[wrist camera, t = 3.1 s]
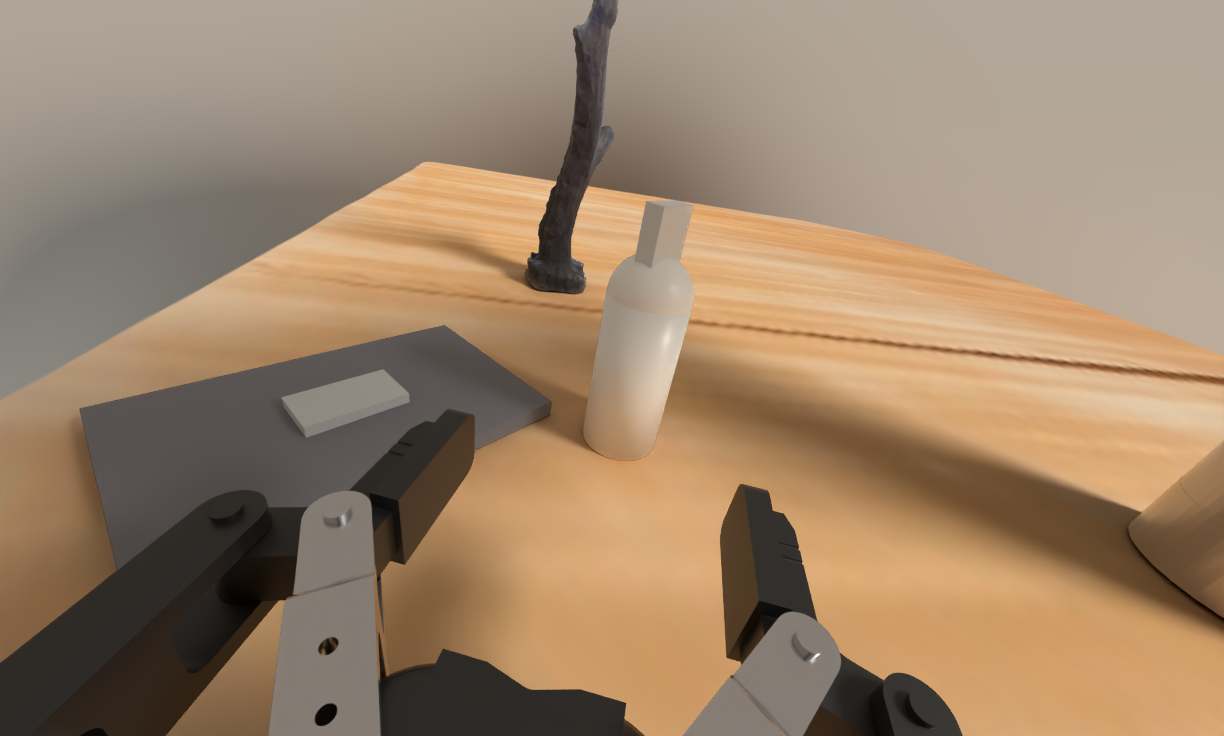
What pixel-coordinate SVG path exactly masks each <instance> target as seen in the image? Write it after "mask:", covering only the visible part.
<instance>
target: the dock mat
mask: <svg viewBox="0 0 1224 736" xmlns="http://www.w3.org/2000/svg"><path fill="white" fill-rule="evenodd" d="M551 402H552V401H550V400H549V399H547V398H546V397H545V396H543V395H542V394H540V393H539V392H538V391H536V390H535V389H533V388H532V387H531V386H529V385H528V384H526V383H525V382H524V381H522V380H521V379H519V378H518V377H517V376H515V375H514V374H512V373H511V372H510V371H508V370H507V369H505V368H504V367H502V366H501V365H500V364H498V363H497V362H495V361H494V360H493V359H491V358H490V357H488V356H487V355H486V354H484V353H483V352H481V351H480V350H479V349H477V348H476V347H474V346H473V345H472V344H470V343H469V342H467V341H466V340H465V339H463V338H462V337H460V336H459V335H458V334H456V333H455V332H453V331H452V330H451V329H449V328H448V327H446V326H445V325H443V326H439V327H434V328H430V329H426V330H421V331H417V332H412V333H408V334H404V335H399V336H395V337H391V338H386V339H382V340H377V341H373V342H369V343H364V344H360V345H356V346H351V347H347V348H342V349H338V350H334V351H329V352H325V353H321V354H316V355H312V356H307V357H303V358H299V359H294V360H290V361H286V362H281V363H277V364H273V365H268V366H264V367H259V368H255V369H251V370H246V371H242V372H238V373H233V374H229V375H224V376H220V377H216V378H211V379H207V380H203V381H198V382H194V383H189V384H185V385H181V386H176V387H172V388H168V389H163V390H159V391H154V392H150V393H146V394H141V395H137V396H133V397H128V398H124V399H120V400H115V401H111V402H106V403H102V404H98V405H93V406H89V407H85V408H80V413H81V418H82V422H83V426H84V431H85V435H86V439H87V443H88V448H89V452H90V456H91V461H92V465H93V469H94V473H95V478H96V482H97V486H98V491H99V495H100V499H101V504H102V508H103V512H104V516H105V521H106V525H107V529H108V534H109V538H110V542H111V546H112V551H113V555H114V559H115V564H116V568H117V570H119V569H120V568H121V567H122V566H124V565H125V564H126V563H127V562H129V561H130V560H131V559H132V558H134V557H135V556H136V555H137V554H139V553H140V552H141V551H143V550H144V549H145V548H146V547H148V546H149V545H150V544H151V543H153V542H154V541H155V540H156V539H158V538H159V537H160V536H161V535H163V534H164V533H165V532H166V531H168V530H169V529H170V528H172V527H173V526H174V525H175V524H177V523H178V522H179V521H180V520H182V519H183V518H184V517H185V516H187V515H188V514H189V513H190V512H192V511H193V510H194V509H196V508H197V507H198V506H199V505H201V504H202V503H204V502H206V501H207V500H209V499H211V498H213V497H215V496H218V495H221V494H224V493H227V492H231V491H237V490H252V491H256V492H259V493H261V494H262V495H264V496H265V498H266V500H267V503H268V506H269V507H309V506H310V505H311V504H312V503H314V502H315V501H317V500H318V499H320V498H322V497H324V496H326V495H328V494H331V493H335V492H340V491H348V490H349V489H351V488H352V487H353V486H354V485H355V484H356V483H357V482H358V481H359V480H360V479H361V478H362V477H363V476H364V475H365V474H366V473H367V472H368V470H369V469H370V468H371V467H372V466H373V465H374V464H375V463H376V462H377V461H378V460H379V459H380V458H381V457H382V456H383V455H384V454H385V453H388V450H389V449H390V448H391V447H392V446H393V445H394V444H395V443H398V440H399V439H400V438H401V437H402V436H403V435H404V434H405V433H406V432H407V431H408V430H409V429H411V428H413V427H415V426H417V425H419V424H421V423H423V422H425V421H430V422H435V421H436V420H437V419H438V418H439V417H440V416H441V415H442V414H443V413H444V412H445V411H446V410H447V409H453V410H457V411H461V412H465V413H469V414H473V415H474V417H475V449H474V451H475V450H477V449H479V448H481V447H483V446H485V445H487V444H489V443H491V442H493V441H496V440H498V439H500V438H502V437H504V436H506V435H508V434H510V433H512V432H514V431H517V430H519V429H521V428H523V427H525V426H527V425H529V424H531V423H533V422H535V421H538V420H540V419H542V418H544V417H546V416H548V415H550V410H551Z"/></svg>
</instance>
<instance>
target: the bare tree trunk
mask: <svg viewBox="0 0 1224 736" xmlns="http://www.w3.org/2000/svg"><path fill="white" fill-rule="evenodd" d="M617 6H618V0H594V1H593V5H592V9H591V12H590V14H589V17H588V19H587V20H586V22H585V23H584V24H583V25H577V26H575V27H574V29H573V36H574V38H575V42H576V47H575V52H576V57H577V82H576V100H575V111H574V119H573V124H572V131H571V137H570V143H569V146H568V149H567V152H566V155H565V158H564V163H563V166H562V168H561V171H560V174H559V176H558V178H557V183H556V185H555V186H554V187H553V188H552V190H551V193H550V197H549V201H548V202H547V204H546V212H545V214H544V215H543V219H542V220H541V222H540V224H539V230H538V236H539V239H540V242H539V252H538V253H537V254H536V253H534V252H532V253H531V258H528V260H527V261H528V262H527V263H528V269H526V272H525V274H526V275H525V276H526V279H527V280H529V283H530V284H531V285H532V286H533V287H534V288H535V289H539V290H545V291H547V290H553V291H558V292H568V293H570V294H578V293H582V292H583V291H584V288H585V283H586V282H585V281H586V277H584V272H583V265H584V264H583V263H581V262H580V261H576V260H575V259H573V258H571V236H572V233H573V228H574V225H575V220H576V216H577V212H578V209H579V206H580V203H581V200H582V198H583V196H584V193H585V191H586V189H587V186H588V184H589V181H590V178H591V176H592V174H593V172H594V170H595V169H596V166H597V165H598V164H599V163H600V162H601V161H602V158H603V156H604V155H605V154H606V152H607V151H608V149H609V148H610V146H611V144H612V142H613V140H614V136H615V135H614V132H613V131H612V129H611V128H610V127H609V126H603V127H601V125H602V119H603V111H604V98H605V81H606V65H607V54H608V45H609V38H610V31H611V28H612V26H613V25H614V23H615V21H616V17H617V12H618V11H617V10H618V9H617Z"/></svg>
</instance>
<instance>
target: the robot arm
mask: <svg viewBox="0 0 1224 736" xmlns="http://www.w3.org/2000/svg"><path fill="white" fill-rule="evenodd" d="M474 449H475V417H474V415H473V414H469V413H465V412H461V411H457V410H453V409H447V410H446V411H445V412H444V413H443V414H442V415H441V416H440V417H439V418H438V419H437V420H436V421H435V422H430V421H425V422H423V423H421V424H419V425H417V426H415V427H413V428H411V429H409V430H408V431H407V432H406V433H405V434H404V435H403V436H402V437H401V438H400V439H399V440H398V443H395V444H394V445H393V446H392V447H391V448H390V449H389V450H388V453H385V454H384V455H383V456H382V457H381V458H380V459H379V460H378V461H377V462H376V463H375V464H374V465H373V466H372V467H371V468H370V469H369V470H368V472H367V473H366V474H365V475H364V476H363V477H362V478H361V479H360V480H359V481H358V482H357V483H356V484H355V485H354V486H353V487H352V488H351V489H349V490H348V491H340V492H335V493H331V494H328V495H326V496H324V497H322V498H320V499H318V500H317V501H315V502H314V503H312V504H311V505H310V506H309V507H269V506H268V503H267V500H266V498H265V496H264V495H262V494H261V493H259V492H256V491H252V490H237V491H231V492H227V493H224V494H221V495H218V496H215V497H213V498H211V499H209V500H207V501H206V502H204V503H202V504H201V505H199V506H198V507H197V508H196V509H194V510H193V511H192V512H190V513H189V514H188V515H187V516H185V517H184V518H183V519H182V520H180V521H179V522H178V523H177V524H175V525H174V526H173V527H172V528H170V529H169V530H168V531H166V532H165V533H164V534H163V535H161V536H160V537H159V538H158V539H156V540H155V541H154V542H153V543H151V544H150V545H149V546H148V547H146V548H145V549H144V550H143V551H141V552H140V553H139V554H137V555H136V556H135V557H134V558H132V559H131V560H130V561H129V562H127V563H126V564H125V565H124V566H122V567H121V568H120V569H119V570H117V571H116V572H115V573H114V574H112V575H111V576H110V577H108V578H107V579H106V580H105V581H103V582H102V583H101V584H100V585H98V586H97V587H96V588H95V589H93V590H92V591H91V592H90V593H88V594H87V595H86V596H84V597H83V598H82V599H81V600H79V601H78V602H77V603H76V604H74V605H73V606H72V607H71V608H69V609H68V610H67V611H66V612H64V613H63V614H62V615H61V616H59V617H58V618H57V619H55V620H54V621H53V622H52V623H50V624H49V625H48V626H47V627H45V628H44V629H43V630H42V631H40V632H39V633H38V634H37V635H35V636H34V637H33V638H32V639H30V640H29V641H28V642H26V643H25V644H24V645H23V646H21V647H20V648H19V649H18V650H16V651H15V652H14V653H13V654H11V655H10V656H9V657H8V658H6V659H5V660H4V661H2V662H1V663H0V736H166V734H167V733H168V732H169V731H170V730H171V728H172V727H173V726H174V725H175V724H176V722H177V721H178V720H179V719H180V718H181V717H182V715H183V714H184V713H185V712H186V711H187V709H188V708H189V707H190V706H191V705H192V703H193V702H194V701H195V700H196V699H197V697H198V696H199V695H200V694H201V693H202V691H203V690H204V689H205V688H206V687H207V685H208V684H209V683H210V682H211V681H212V679H213V678H214V677H215V676H216V675H217V673H218V672H219V671H220V670H221V669H222V667H223V666H224V665H225V664H226V663H227V661H228V660H229V659H230V658H231V657H232V655H233V654H234V653H235V652H236V651H237V649H238V648H239V647H240V646H241V645H242V643H243V642H244V641H245V640H246V639H247V638H248V636H249V635H250V634H251V633H252V632H253V630H254V629H255V628H256V627H257V626H258V624H259V623H260V622H261V621H262V620H263V618H264V617H265V616H266V615H267V614H268V612H269V611H270V610H271V609H272V608H273V606H274V605H275V604H276V603H277V602H278V600H286V601H285V605H284V610H283V618H282V626H281V634H280V643H279V651H278V659H277V667H276V676H275V684H274V692H273V700H272V708H271V717H270V725H269V733H268V736H644V735H643V734H642V733H641V732H640V731H639V730H638V729H637V728H636V727H634V726H633V725H632V724H631V723H629V722H628V721H626V720H625V719H624V716H625V709H626V703H624V702H621V701H617V700H614V699H611V698H607V697H604V696H601V695H597V694H594V693H590V692H587V691H584V690H580V689H576V690H530V689H527V688H525V687H523V686H522V685H521V684H519V683H518V682H516V681H515V680H513V679H512V678H510V677H509V676H507V675H506V674H504V673H503V672H501V671H500V670H498V669H497V668H495V667H494V666H492V665H491V664H489V663H488V662H486V661H482V660H479V659H476V658H472V657H469V656H466V655H462V654H459V653H455V652H452V651H449V650H445V649H443V650H442V652H441V654H440V656H439V658H438V660H437V662H436V663H434V664H423V665H417V666H413V667H409V668H406V669H403V670H400V671H398V672H395V673H393V674H391V675H389V668H388V658H387V648H386V635H385V620H384V604H383V588H382V575H381V573H382V572H383V570H384V569H385V567H386V566H387V565H388V563H389V562H390V561H393V562H397V563H400V564H404V565H405V564H406V562H407V561H408V560H409V558H410V557H411V555H412V554H413V552H414V551H415V549H416V548H417V546H418V545H419V544H420V542H421V541H422V539H423V538H424V536H425V535H426V533H427V532H428V531H429V529H430V528H431V526H432V525H433V523H434V522H435V520H436V519H437V517H438V516H439V515H440V513H441V512H442V510H443V509H444V507H445V506H446V504H447V503H448V502H449V500H450V499H451V497H452V496H453V494H454V493H455V491H456V490H457V488H458V487H459V486H460V484H461V483H462V481H463V480H464V478H465V477H466V475H467V474H468V472H469V470H470V468H471V466H472V463H473V459H474ZM1128 531H1129V534H1130V537H1131V539H1132V541H1133V542H1134V544H1135V545H1136V546H1137V548H1138V549H1139V551H1140V552H1141V553H1142V554H1143V555H1144V556H1145V557H1146V558H1147V559H1148V560H1149V561H1150V562H1151V563H1152V564H1153V565H1154V566H1155V567H1156V568H1157V569H1158V570H1159V571H1161V572H1162V573H1163V574H1164V575H1165V576H1166V577H1167V578H1169V579H1170V580H1171V581H1172V582H1174V583H1175V584H1176V585H1177V586H1179V587H1180V588H1181V589H1183V590H1184V591H1185V592H1187V593H1188V594H1189V595H1190V596H1192V597H1193V598H1195V599H1196V600H1198V601H1199V602H1201V603H1202V604H1203V605H1205V606H1206V607H1208V608H1209V609H1211V610H1212V611H1214V612H1215V613H1217V614H1218V615H1220V616H1221V617H1223V618H1224V441H1222V442H1221V443H1220V444H1219V445H1218V446H1217V447H1216V448H1215V449H1213V450H1212V451H1211V452H1210V453H1209V454H1208V455H1207V456H1206V457H1204V458H1203V459H1202V460H1201V461H1200V462H1199V463H1198V464H1197V465H1195V466H1194V467H1193V468H1192V469H1191V470H1190V471H1189V472H1188V473H1186V474H1185V475H1184V476H1183V477H1181V478H1180V479H1179V480H1178V481H1177V482H1176V483H1175V484H1173V485H1172V486H1171V487H1170V488H1169V489H1168V490H1167V491H1166V492H1164V493H1163V494H1162V495H1161V496H1160V497H1159V498H1158V499H1157V500H1155V501H1154V502H1153V503H1152V504H1151V505H1150V506H1149V507H1148V508H1146V509H1145V510H1144V511H1143V512H1142V513H1141V514H1140V515H1139V516H1137V517H1136V518H1135V519H1134V520H1133V521H1132V522H1131V523H1130V524H1129V528H1128ZM720 548H721V566H722V584H723V602H724V621H725V639H726V657H727V658H729V659H733V660H736V661H740V662H741V666H740V668H739V669H738V670H737V671H736V673H735V674H734V675H733V676H732V675H731V676H730V677H729V678H728V680H727V681H726V682H725V683H724V684H723V686H722V687H721V688H720V689H719V691H718V692H717V693H716V694H715V696H714V697H713V698H712V699H711V701H710V702H709V703H708V705H707V706H706V707H705V708H704V710H703V711H702V712H701V713H700V715H699V716H698V717H697V718H696V720H695V721H694V722H693V723H692V725H691V726H690V727H689V729H688V730H687V731H686V732H685V734H684V735H683V736H962V733H961V730H960V728H959V725H958V723H957V721H956V719H955V717H954V715H953V714H952V712H951V710H950V709H949V707H948V706H947V705H946V703H945V702H944V701H943V700H942V699H941V697H940V696H939V695H938V694H937V693H936V692H935V691H934V690H932V689H931V688H930V687H929V686H928V685H926V684H925V683H923V682H922V681H921V680H919V679H917V678H915V677H913V676H910V675H908V674H904V673H893V674H891V675H889V676H888V677H887V678H886V679H885V680H882V679H881V678H879V677H877V676H876V675H874V674H872V673H870V672H869V671H867V670H865V669H864V668H862V667H860V666H859V665H857V664H855V663H854V662H852V661H850V660H849V659H847V658H846V657H845V656H843V655H842V654H841V653H840V652H839V649H838V647H837V645H836V643H835V641H834V639H833V638H832V636H831V635H830V633H829V632H828V631H827V630H826V629H825V628H824V627H823V626H822V625H821V624H820V623H819V622H818V621H817V618H816V614H815V610H814V606H813V602H812V598H811V594H810V590H809V586H808V582H807V578H806V574H805V570H804V566H803V565H802V558H801V554H800V551H799V550H798V549H799V546H798V542H797V538H796V534H795V530H794V528H793V527H792V525H791V524H790V522H789V521H788V519H787V518H786V516H785V515H784V514H783V513H779V512H775V511H773V509H772V504H771V499H770V495H769V492H768V491H767V490H764V489H760V488H756V487H752V486H748V485H744V484H740V485H739V487H738V489H737V491H736V493H735V495H734V498H733V500H732V502H731V504H730V507H729V509H728V511H727V514H726V516H725V518H724V521H723V524H722V528H721V535H720Z"/></svg>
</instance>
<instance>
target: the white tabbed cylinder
mask: <svg viewBox="0 0 1224 736" xmlns="http://www.w3.org/2000/svg"><path fill="white" fill-rule="evenodd" d="M692 210H693V206H692V205H689V204H686V203H682V202H679V201H646V205H645V210H644V215H643V220H642V225H641V230H640V236H639V241H638V246H637V251H636V254H635V255H632V256H631V257H629V258H627V259H626V260H624V261H623V262H622V263H621V264H620V265H619V266H618V267H617V268H616V269H615V271H614V272H613V274H612V276H611V278H610V280H609V283H608V286H607V291H606V297H605V303H604V309H603V315H602V320H601V326H600V332H599V338H598V344H597V350H596V356H595V362H594V368H593V374H592V380H591V385H590V391H589V397H588V403H587V409H586V415H585V421H584V427H583V437H584V439H585V441H586V443H587V444H588V445H589V446H590V448H592V449H593V450H594V451H595V452H597V453H599V454H600V455H602V456H605V457H607V458H610V459H614V460H620V461H632V460H637V459H641V458H643V457H645V456H647V455H648V454H649V453H650V452H651V451H652V449H653V447H654V444H655V440H656V437H657V433H658V429H659V426H660V422H661V419H662V415H663V412H664V408H665V404H666V401H667V397H668V394H669V390H670V387H671V383H672V379H673V376H674V372H675V369H676V365H677V361H678V358H679V354H680V351H681V347H682V344H683V340H684V336H685V333H686V329H687V326H688V322H689V319H690V315H691V311H692V308H693V303H694V287H693V283H692V280H691V277H690V275H689V274H688V272H687V270H686V269H685V268H684V266H683V265H682V264H681V263H680V259H681V255H682V251H683V247H684V243H685V239H686V235H687V231H688V227H689V222H690V218H691V214H692Z"/></svg>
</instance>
